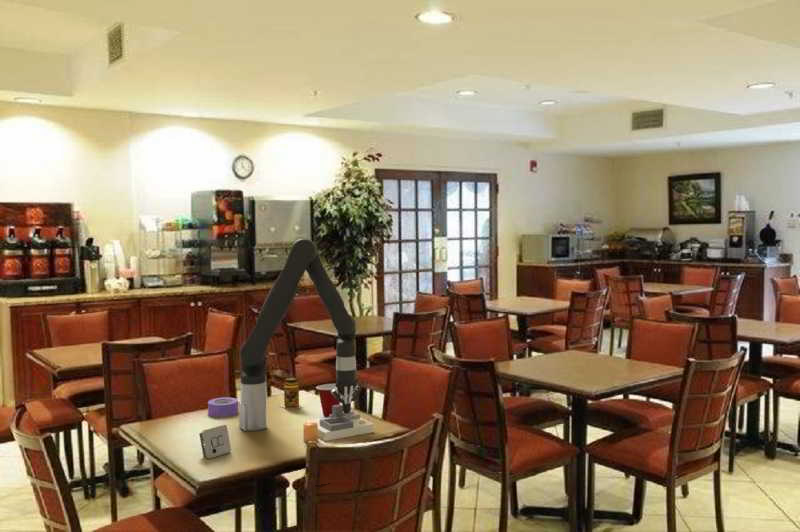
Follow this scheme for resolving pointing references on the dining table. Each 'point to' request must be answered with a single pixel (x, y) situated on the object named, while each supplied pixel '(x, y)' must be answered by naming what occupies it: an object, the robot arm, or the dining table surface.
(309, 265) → the robot arm
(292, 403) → the condiment
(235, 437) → the dining table surface
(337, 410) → the breaker toggle
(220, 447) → the electrical switch
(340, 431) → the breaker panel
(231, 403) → the tape roll
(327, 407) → the plastic cup
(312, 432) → the cap
